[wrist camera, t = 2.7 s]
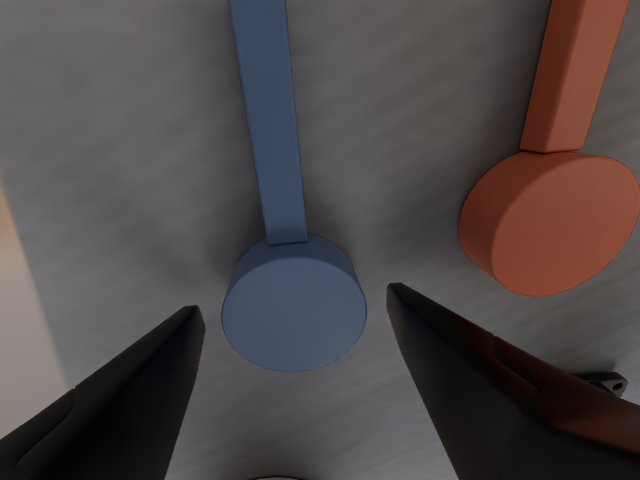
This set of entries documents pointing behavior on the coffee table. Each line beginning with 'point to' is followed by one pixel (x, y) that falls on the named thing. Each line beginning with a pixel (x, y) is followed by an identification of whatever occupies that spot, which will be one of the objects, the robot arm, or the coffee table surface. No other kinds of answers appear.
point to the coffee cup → (277, 478)
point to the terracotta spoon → (556, 169)
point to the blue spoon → (284, 222)
